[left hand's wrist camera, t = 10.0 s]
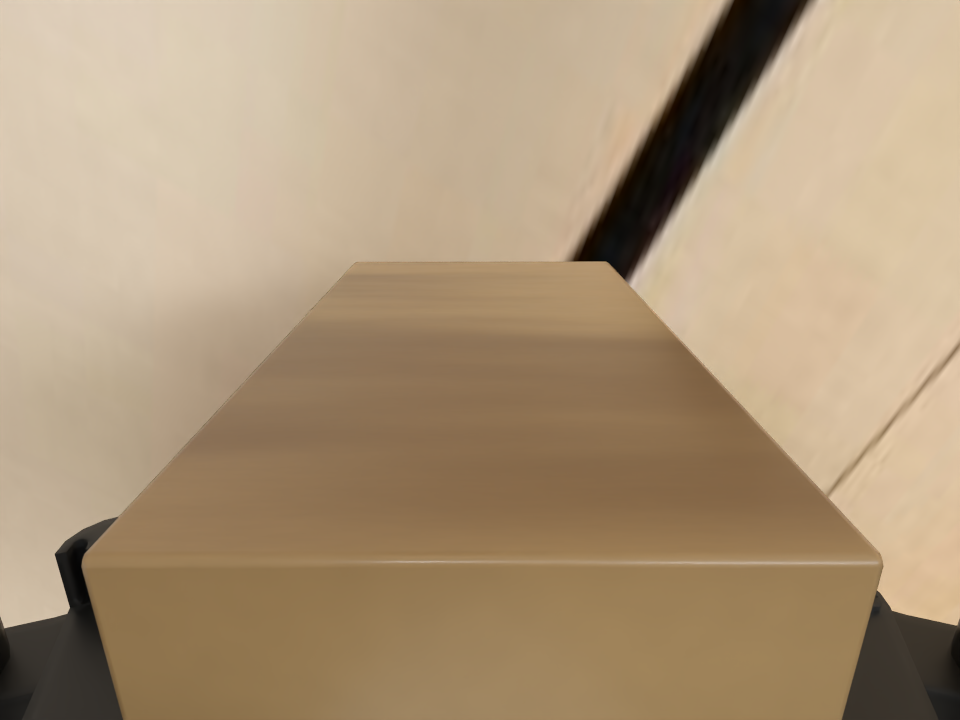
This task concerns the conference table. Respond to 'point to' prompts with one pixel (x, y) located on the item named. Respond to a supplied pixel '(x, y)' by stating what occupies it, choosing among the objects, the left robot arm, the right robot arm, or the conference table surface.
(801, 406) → the conference table surface
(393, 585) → the box
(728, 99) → the conference table surface
